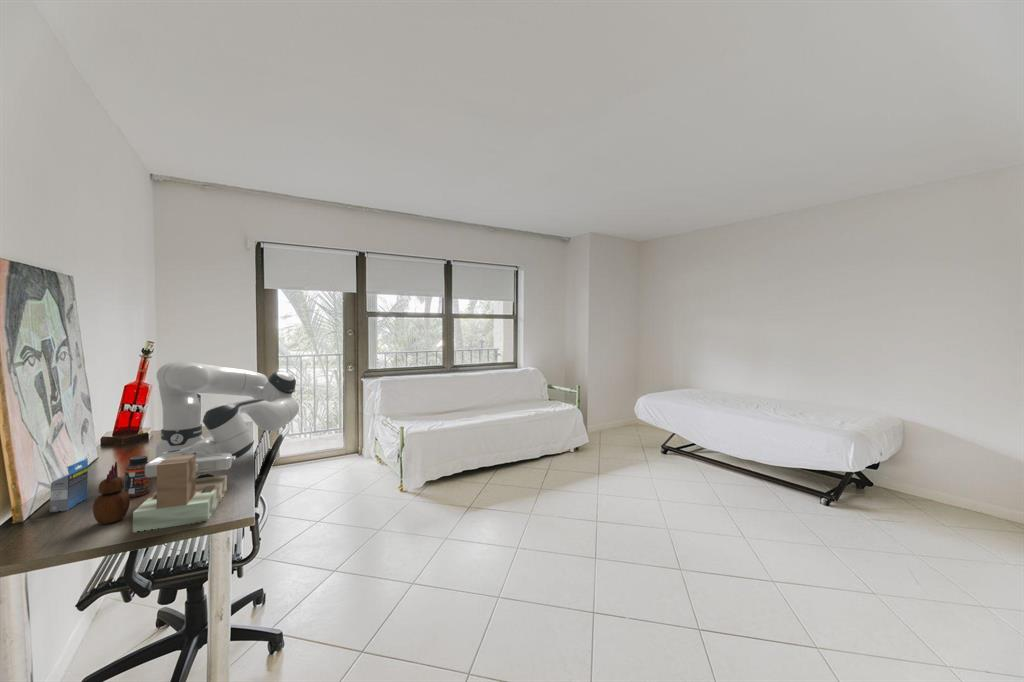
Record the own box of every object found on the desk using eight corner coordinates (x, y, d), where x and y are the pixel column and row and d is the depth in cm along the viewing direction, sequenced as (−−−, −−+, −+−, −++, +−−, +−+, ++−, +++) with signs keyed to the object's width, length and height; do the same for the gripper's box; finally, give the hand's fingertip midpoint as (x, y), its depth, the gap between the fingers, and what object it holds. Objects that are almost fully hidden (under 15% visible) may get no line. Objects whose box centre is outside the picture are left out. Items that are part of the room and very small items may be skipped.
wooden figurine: (114, 515, 107) (114, 459, 107) (134, 515, 107) (135, 460, 107) (86, 527, 101) (86, 467, 101) (108, 527, 100) (108, 468, 100)
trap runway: (166, 498, 119) (166, 481, 119) (226, 490, 125) (227, 474, 125) (132, 532, 98) (132, 512, 98) (207, 521, 104) (207, 502, 104)
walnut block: (167, 497, 107) (168, 456, 107) (195, 493, 110) (195, 454, 110) (156, 508, 100) (156, 465, 100) (186, 504, 103) (186, 462, 102)
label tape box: (70, 500, 117) (70, 459, 117) (88, 498, 118) (88, 457, 118) (48, 513, 109) (49, 468, 109) (68, 510, 110) (69, 466, 110)
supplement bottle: (134, 498, 119) (134, 460, 119) (119, 497, 120) (119, 459, 120) (156, 491, 124) (156, 455, 124) (141, 489, 126) (141, 453, 126)
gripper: (237, 465, 128) (227, 479, 116) (156, 473, 120) (135, 488, 107) (237, 446, 128) (227, 457, 116) (156, 452, 120) (136, 465, 107)
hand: (182, 472), depth 111 cm, fingers closed
